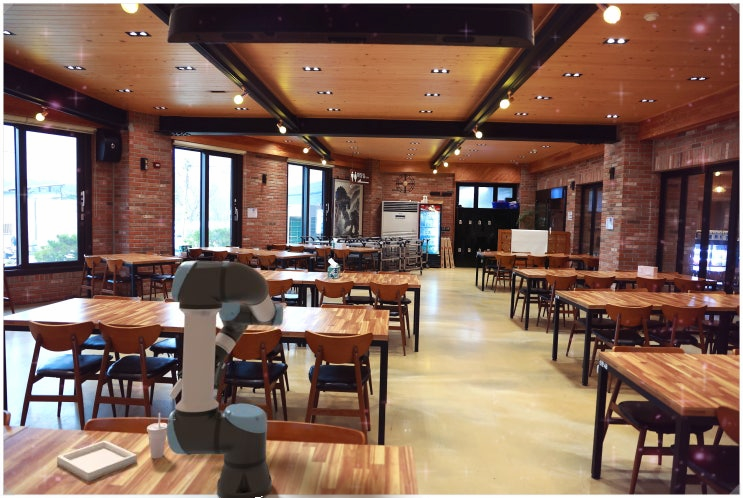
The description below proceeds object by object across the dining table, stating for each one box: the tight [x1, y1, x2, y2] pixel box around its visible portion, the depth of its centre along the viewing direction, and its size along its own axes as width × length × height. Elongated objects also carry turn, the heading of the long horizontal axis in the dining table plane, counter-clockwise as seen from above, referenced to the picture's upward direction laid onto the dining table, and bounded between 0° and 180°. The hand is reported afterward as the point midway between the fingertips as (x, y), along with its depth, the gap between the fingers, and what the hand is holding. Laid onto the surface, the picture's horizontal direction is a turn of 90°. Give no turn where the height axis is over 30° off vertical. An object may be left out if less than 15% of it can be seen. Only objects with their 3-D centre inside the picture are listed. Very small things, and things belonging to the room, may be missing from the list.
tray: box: [56, 440, 138, 482], centre depth 159 cm, size 18×15×2 cm
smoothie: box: [146, 412, 168, 459], centre depth 165 cm, size 6×6×14 cm
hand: (183, 401), depth 173 cm, fingers open, 13 cm apart
